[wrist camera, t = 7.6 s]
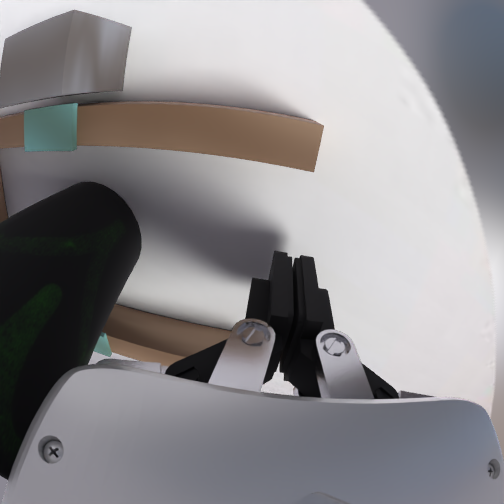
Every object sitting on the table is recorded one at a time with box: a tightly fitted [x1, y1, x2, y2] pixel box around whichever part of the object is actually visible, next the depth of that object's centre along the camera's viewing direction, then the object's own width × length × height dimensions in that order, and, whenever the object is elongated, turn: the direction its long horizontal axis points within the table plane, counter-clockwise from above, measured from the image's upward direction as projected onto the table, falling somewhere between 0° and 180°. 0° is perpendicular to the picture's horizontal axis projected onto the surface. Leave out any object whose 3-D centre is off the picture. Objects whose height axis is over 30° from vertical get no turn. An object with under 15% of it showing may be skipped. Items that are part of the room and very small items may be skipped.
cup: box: [0, 182, 141, 480], centre depth 8 cm, size 8×8×12 cm
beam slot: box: [0, 10, 324, 366], centre depth 10 cm, size 17×20×4 cm
